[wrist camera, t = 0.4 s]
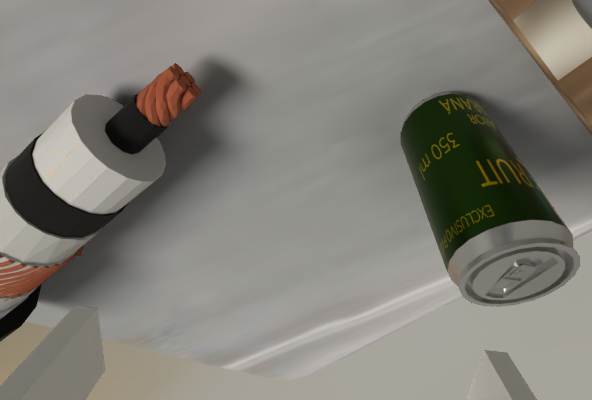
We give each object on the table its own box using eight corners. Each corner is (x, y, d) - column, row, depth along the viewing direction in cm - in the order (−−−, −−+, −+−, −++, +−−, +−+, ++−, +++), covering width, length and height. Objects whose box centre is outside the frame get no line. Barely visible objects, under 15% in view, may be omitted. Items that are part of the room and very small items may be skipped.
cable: (221, 62, 26) (271, 180, 22) (-20, 278, 38) (-16, 382, 34) (79, -44, 18) (117, 114, 14) (-175, 277, 30) (-196, 414, 25)
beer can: (452, 162, 27) (527, 314, 19) (384, 147, 26) (431, 301, 18) (499, 98, 24) (617, 250, 15) (422, 77, 23) (504, 229, 14)
